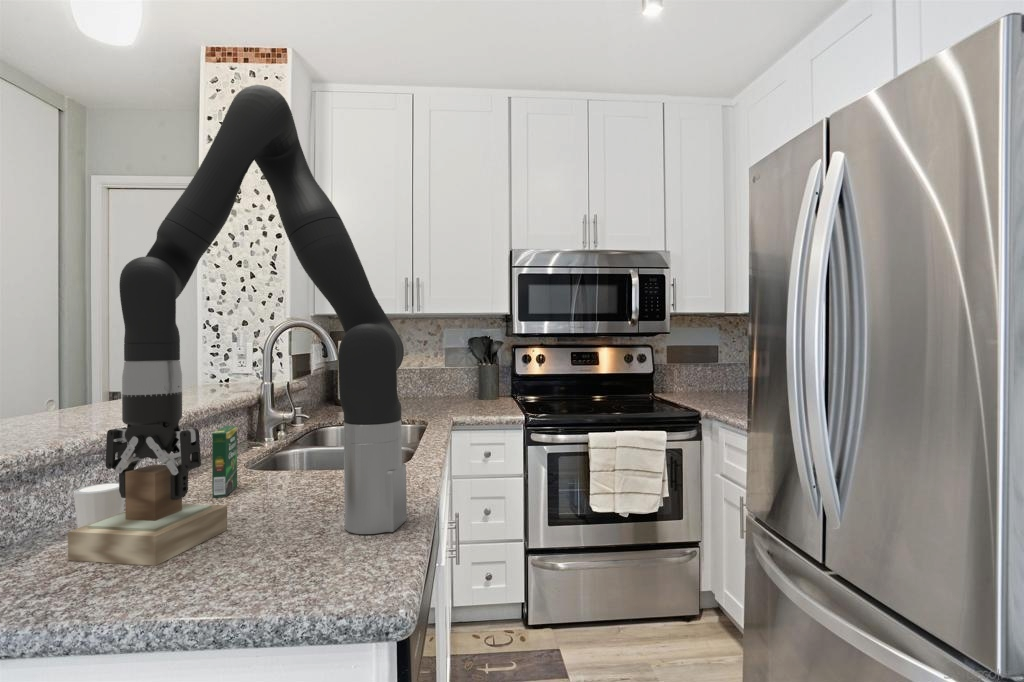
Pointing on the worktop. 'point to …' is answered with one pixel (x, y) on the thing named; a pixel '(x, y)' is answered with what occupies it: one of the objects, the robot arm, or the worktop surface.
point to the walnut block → (149, 494)
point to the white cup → (97, 503)
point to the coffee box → (224, 461)
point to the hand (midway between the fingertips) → (153, 497)
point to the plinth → (146, 536)
